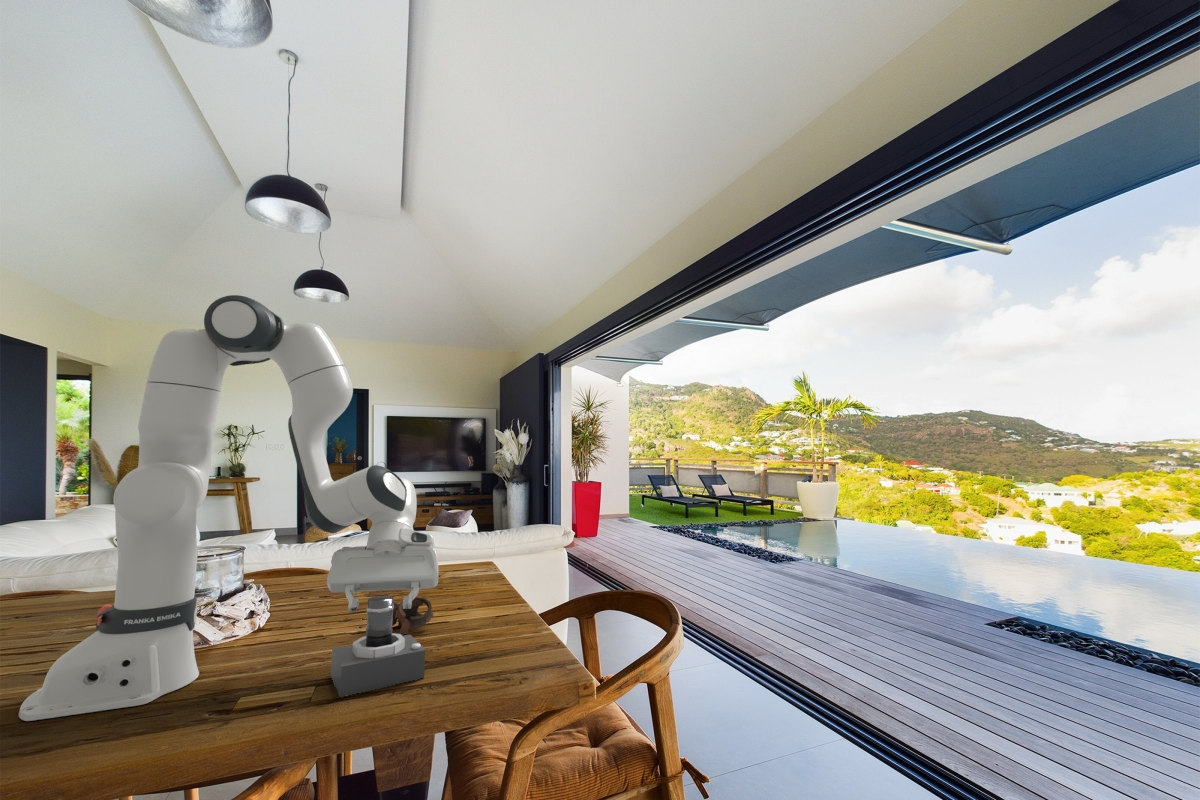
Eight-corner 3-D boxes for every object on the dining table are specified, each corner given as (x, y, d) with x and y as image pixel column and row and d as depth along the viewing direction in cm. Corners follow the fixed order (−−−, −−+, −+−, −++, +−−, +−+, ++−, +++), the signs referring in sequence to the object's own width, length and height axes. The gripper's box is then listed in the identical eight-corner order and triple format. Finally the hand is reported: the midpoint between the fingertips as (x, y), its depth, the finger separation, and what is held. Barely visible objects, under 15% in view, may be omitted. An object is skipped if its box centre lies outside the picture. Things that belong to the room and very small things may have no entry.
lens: (367, 655, 95) (370, 603, 96) (362, 647, 99) (364, 597, 99) (394, 650, 97) (396, 599, 98) (388, 642, 101) (390, 594, 102)
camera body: (340, 697, 89) (342, 657, 90) (330, 677, 98) (332, 640, 98) (424, 678, 97) (425, 641, 98) (409, 660, 105) (410, 626, 106)
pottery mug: (435, 623, 131) (440, 597, 128) (421, 653, 122) (426, 626, 119) (387, 610, 130) (391, 584, 127) (369, 640, 121) (374, 613, 118)
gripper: (332, 537, 105) (316, 602, 95) (440, 535, 110) (436, 596, 100) (336, 556, 109) (321, 620, 98) (440, 553, 114) (436, 614, 104)
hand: (380, 608), depth 99 cm, fingers open, 8 cm apart
